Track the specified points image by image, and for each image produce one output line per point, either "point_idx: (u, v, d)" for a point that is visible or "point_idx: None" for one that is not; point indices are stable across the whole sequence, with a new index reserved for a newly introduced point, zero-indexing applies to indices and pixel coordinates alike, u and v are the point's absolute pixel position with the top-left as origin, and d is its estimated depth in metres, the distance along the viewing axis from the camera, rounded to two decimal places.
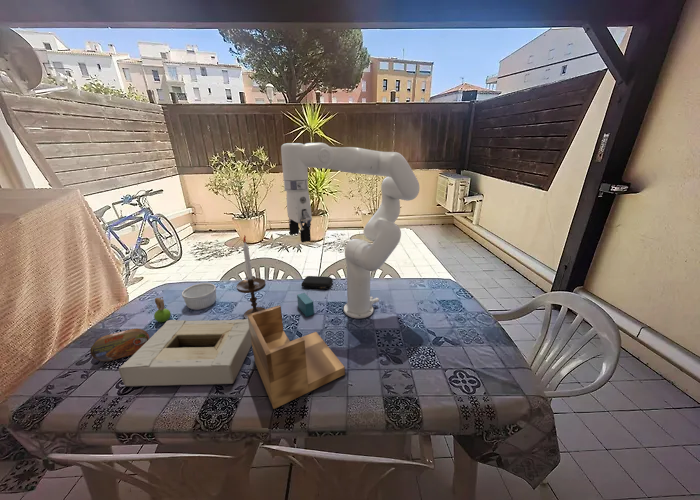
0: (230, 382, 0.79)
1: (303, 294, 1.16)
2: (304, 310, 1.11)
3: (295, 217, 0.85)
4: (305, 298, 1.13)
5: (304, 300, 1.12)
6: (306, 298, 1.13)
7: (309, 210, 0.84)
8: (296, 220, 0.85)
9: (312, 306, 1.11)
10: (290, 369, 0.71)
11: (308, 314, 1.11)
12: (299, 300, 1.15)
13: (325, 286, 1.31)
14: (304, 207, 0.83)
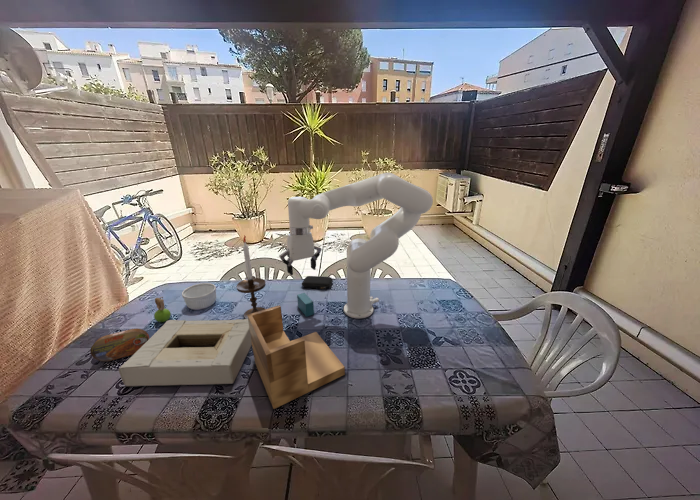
0: (230, 382, 0.79)
1: (303, 294, 1.16)
2: (304, 310, 1.11)
3: (310, 253, 1.05)
4: (305, 298, 1.13)
5: (304, 300, 1.12)
6: (306, 298, 1.13)
7: None
8: (311, 255, 1.06)
9: (312, 306, 1.11)
10: (290, 369, 0.71)
11: (308, 314, 1.11)
12: (299, 300, 1.15)
13: (325, 286, 1.31)
14: None
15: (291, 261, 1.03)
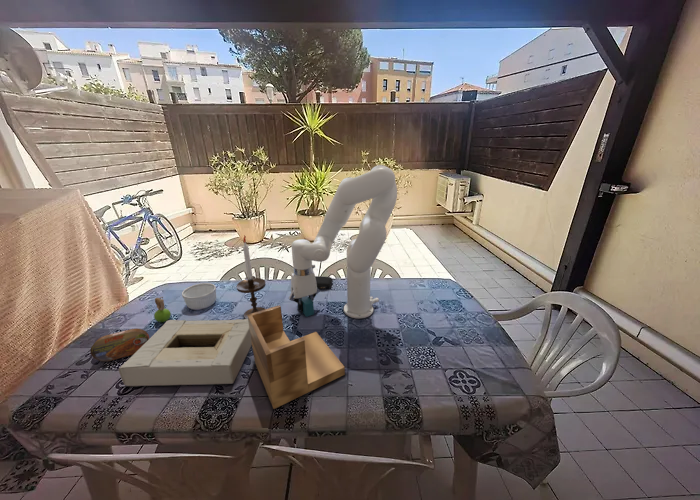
0: (230, 382, 0.79)
1: None
2: (304, 310, 1.11)
3: (313, 290, 1.12)
4: (305, 298, 1.13)
5: (304, 300, 1.12)
6: (306, 298, 1.13)
7: None
8: (314, 292, 1.12)
9: (312, 306, 1.11)
10: (290, 369, 0.71)
11: (308, 314, 1.11)
12: None
13: (325, 286, 1.31)
14: None
15: (300, 300, 1.11)
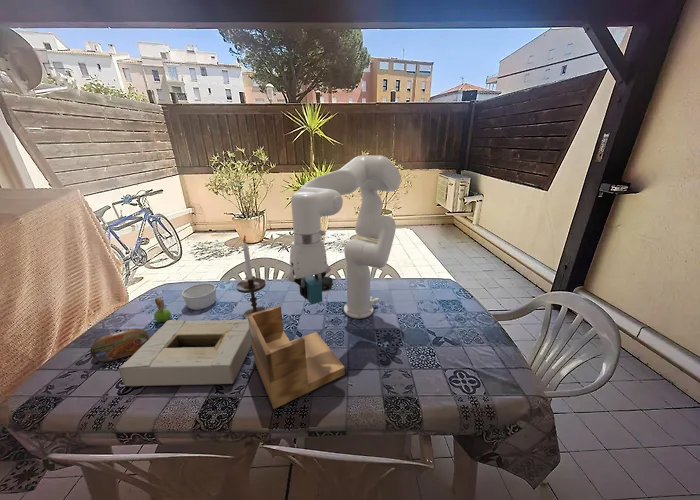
0: (230, 382, 0.79)
1: None
2: (309, 295, 0.78)
3: (321, 268, 0.79)
4: (310, 278, 0.80)
5: (309, 281, 0.78)
6: (311, 278, 0.80)
7: None
8: (322, 270, 0.79)
9: (320, 290, 0.78)
10: (290, 369, 0.71)
11: (314, 301, 0.78)
12: None
13: (325, 286, 1.31)
14: None
15: (303, 280, 0.78)
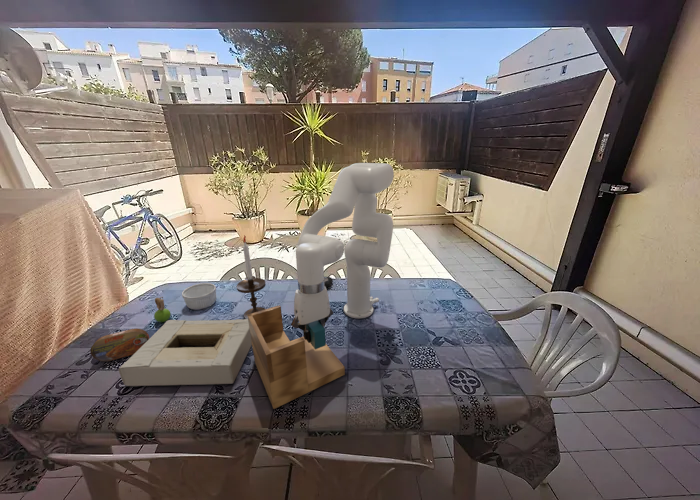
0: (230, 382, 0.79)
1: None
2: (312, 340, 0.81)
3: (324, 313, 0.81)
4: (314, 323, 0.83)
5: (312, 326, 0.81)
6: (315, 322, 0.83)
7: None
8: (325, 315, 0.82)
9: (323, 335, 0.80)
10: (290, 369, 0.71)
11: (318, 346, 0.81)
12: None
13: (325, 286, 1.31)
14: None
15: (307, 326, 0.80)
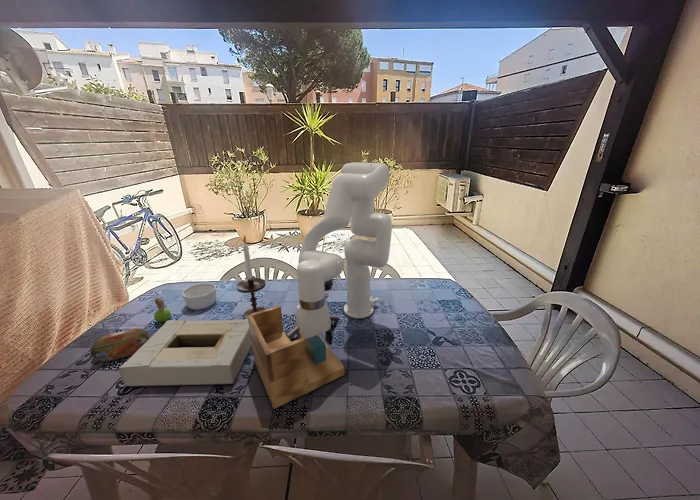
0: (230, 382, 0.79)
1: None
2: (313, 355, 0.83)
3: (325, 327, 0.83)
4: (315, 338, 0.85)
5: (313, 342, 0.83)
6: (316, 338, 0.85)
7: None
8: (326, 329, 0.84)
9: (324, 350, 0.82)
10: (290, 369, 0.71)
11: (319, 361, 0.83)
12: (306, 340, 0.86)
13: (325, 286, 1.31)
14: None
15: None
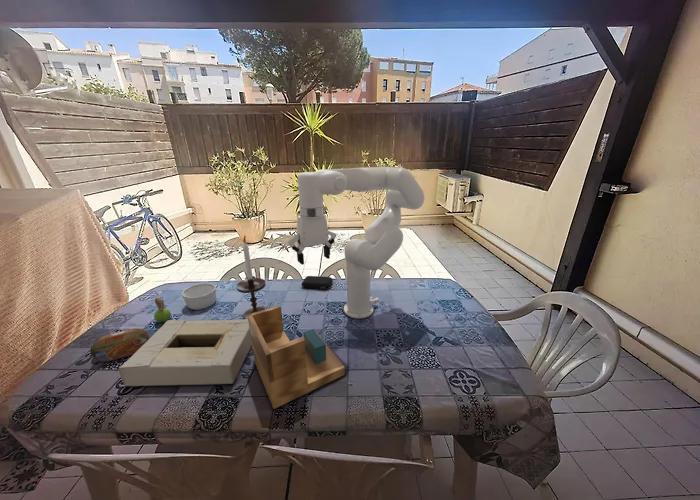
0: (230, 382, 0.79)
1: (311, 331, 0.88)
2: (313, 355, 0.83)
3: (324, 239, 0.91)
4: (315, 338, 0.85)
5: (313, 342, 0.83)
6: (316, 338, 0.85)
7: None
8: (324, 241, 0.92)
9: (324, 350, 0.82)
10: (290, 369, 0.71)
11: (319, 361, 0.83)
12: (306, 340, 0.86)
13: (325, 286, 1.31)
14: None
15: (302, 248, 0.89)
